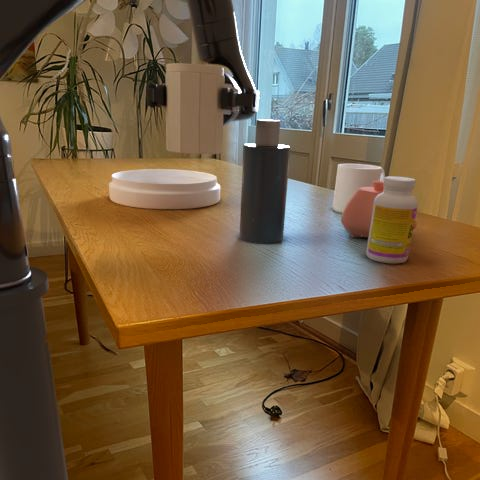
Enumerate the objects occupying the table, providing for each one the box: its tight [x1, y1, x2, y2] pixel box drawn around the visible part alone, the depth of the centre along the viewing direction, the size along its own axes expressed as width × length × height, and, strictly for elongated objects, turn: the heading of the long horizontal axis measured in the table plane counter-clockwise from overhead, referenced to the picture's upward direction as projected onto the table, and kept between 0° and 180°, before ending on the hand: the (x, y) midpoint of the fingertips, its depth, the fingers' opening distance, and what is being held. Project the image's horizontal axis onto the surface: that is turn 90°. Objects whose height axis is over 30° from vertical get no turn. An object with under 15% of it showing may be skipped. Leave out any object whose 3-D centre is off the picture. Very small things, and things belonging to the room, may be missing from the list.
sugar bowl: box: [340, 181, 418, 238], centre depth 90 cm, size 12×14×10 cm
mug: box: [332, 163, 386, 214], centre depth 112 cm, size 13×10×10 cm
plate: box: [108, 168, 221, 210], centre depth 117 cm, size 27×27×6 cm
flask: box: [239, 119, 291, 245], centre depth 83 cm, size 8×8×20 cm
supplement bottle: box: [365, 175, 419, 265], centre depth 76 cm, size 7×7×13 cm
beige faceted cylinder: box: [165, 62, 225, 155], centre depth 55 cm, size 6×7×9 cm
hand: (192, 97), depth 53 cm, fingers closed on beige faceted cylinder, 6 cm apart
